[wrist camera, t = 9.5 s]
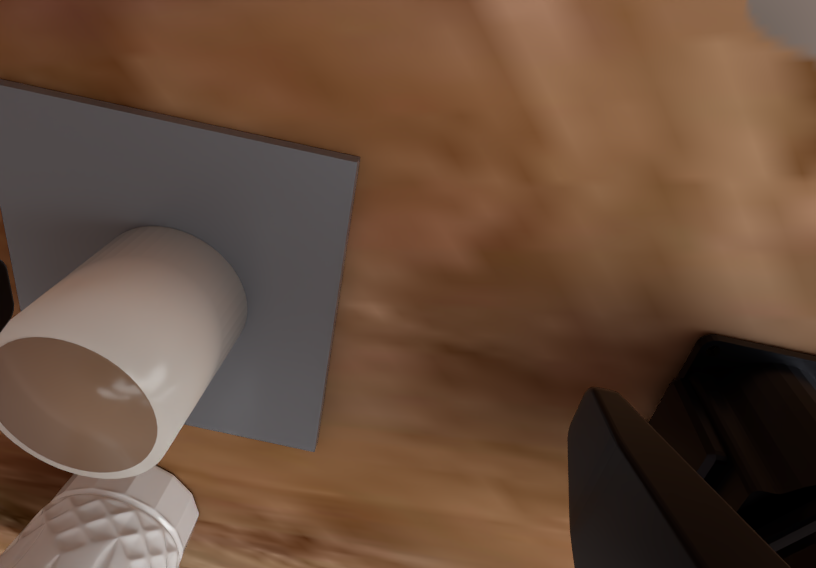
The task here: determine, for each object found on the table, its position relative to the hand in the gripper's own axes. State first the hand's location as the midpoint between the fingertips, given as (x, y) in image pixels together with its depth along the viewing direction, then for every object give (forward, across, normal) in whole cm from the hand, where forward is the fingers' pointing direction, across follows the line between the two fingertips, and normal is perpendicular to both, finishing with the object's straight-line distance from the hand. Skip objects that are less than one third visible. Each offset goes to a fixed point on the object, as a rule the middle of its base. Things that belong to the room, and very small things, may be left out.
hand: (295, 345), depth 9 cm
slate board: (+12, +8, +8) cm, 16 cm away
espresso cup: (+11, +7, +8) cm, 16 cm away
